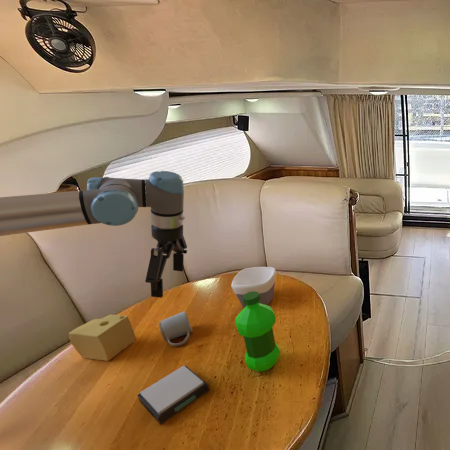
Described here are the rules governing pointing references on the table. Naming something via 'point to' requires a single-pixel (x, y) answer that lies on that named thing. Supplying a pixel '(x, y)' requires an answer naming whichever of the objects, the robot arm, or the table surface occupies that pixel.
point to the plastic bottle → (258, 333)
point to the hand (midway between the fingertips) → (168, 282)
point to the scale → (172, 393)
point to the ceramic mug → (175, 328)
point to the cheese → (103, 337)
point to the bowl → (255, 283)
